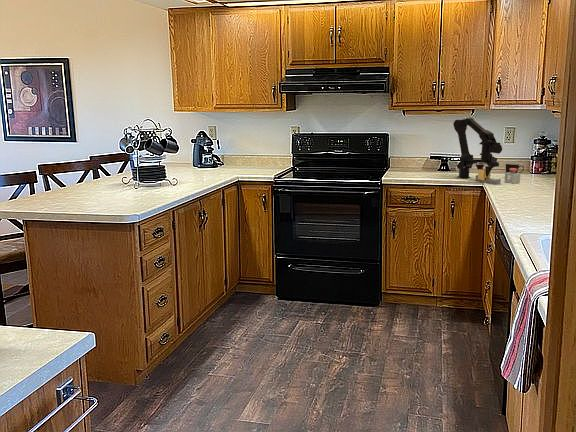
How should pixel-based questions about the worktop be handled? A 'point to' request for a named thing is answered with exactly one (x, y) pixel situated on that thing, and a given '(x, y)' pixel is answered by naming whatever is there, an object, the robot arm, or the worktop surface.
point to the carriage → (482, 174)
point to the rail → (489, 180)
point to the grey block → (512, 178)
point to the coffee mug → (512, 165)
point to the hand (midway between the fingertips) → (484, 176)
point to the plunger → (513, 170)
